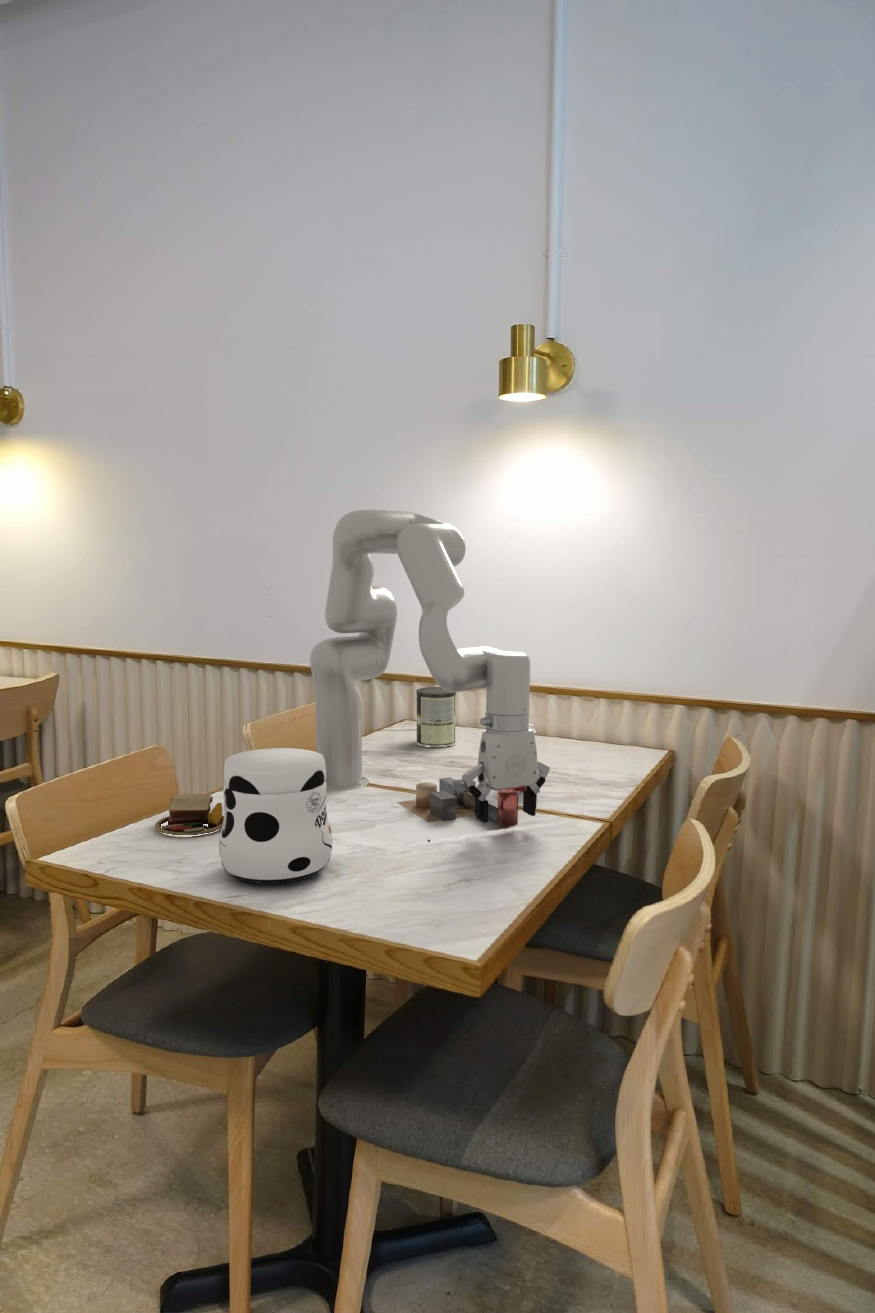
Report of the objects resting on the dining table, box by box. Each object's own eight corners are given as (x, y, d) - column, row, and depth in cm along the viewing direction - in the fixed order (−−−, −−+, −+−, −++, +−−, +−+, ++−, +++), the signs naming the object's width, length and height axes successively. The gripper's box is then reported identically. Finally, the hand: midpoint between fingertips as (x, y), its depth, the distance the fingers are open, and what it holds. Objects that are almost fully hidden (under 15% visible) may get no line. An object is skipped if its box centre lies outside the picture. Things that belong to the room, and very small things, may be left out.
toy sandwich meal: (145, 840, 155) (145, 813, 154) (167, 817, 168) (166, 792, 168) (218, 840, 155) (217, 813, 155) (234, 816, 169) (233, 792, 168)
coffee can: (407, 743, 232) (408, 689, 230) (438, 737, 239) (438, 685, 237) (433, 750, 224) (433, 694, 223) (464, 744, 231) (464, 690, 229)
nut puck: (424, 809, 169) (424, 789, 169) (411, 805, 173) (411, 784, 172) (441, 806, 172) (441, 785, 171) (428, 801, 175) (428, 781, 175)
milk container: (355, 870, 140) (354, 758, 138) (266, 902, 128) (264, 779, 125) (285, 845, 152) (284, 741, 150) (197, 873, 139) (194, 759, 137)
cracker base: (429, 827, 162) (429, 801, 161) (397, 807, 175) (397, 782, 174) (505, 816, 169) (506, 790, 168) (469, 797, 182) (469, 773, 181)
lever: (434, 791, 179) (435, 763, 178) (454, 789, 181) (454, 761, 180) (502, 827, 156) (502, 795, 156) (523, 824, 158) (524, 792, 158)
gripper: (474, 730, 149) (473, 829, 152) (561, 722, 157) (558, 816, 159) (453, 722, 156) (452, 817, 158) (537, 714, 164) (535, 805, 166)
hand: (505, 817), depth 159 cm, fingers open, 9 cm apart
